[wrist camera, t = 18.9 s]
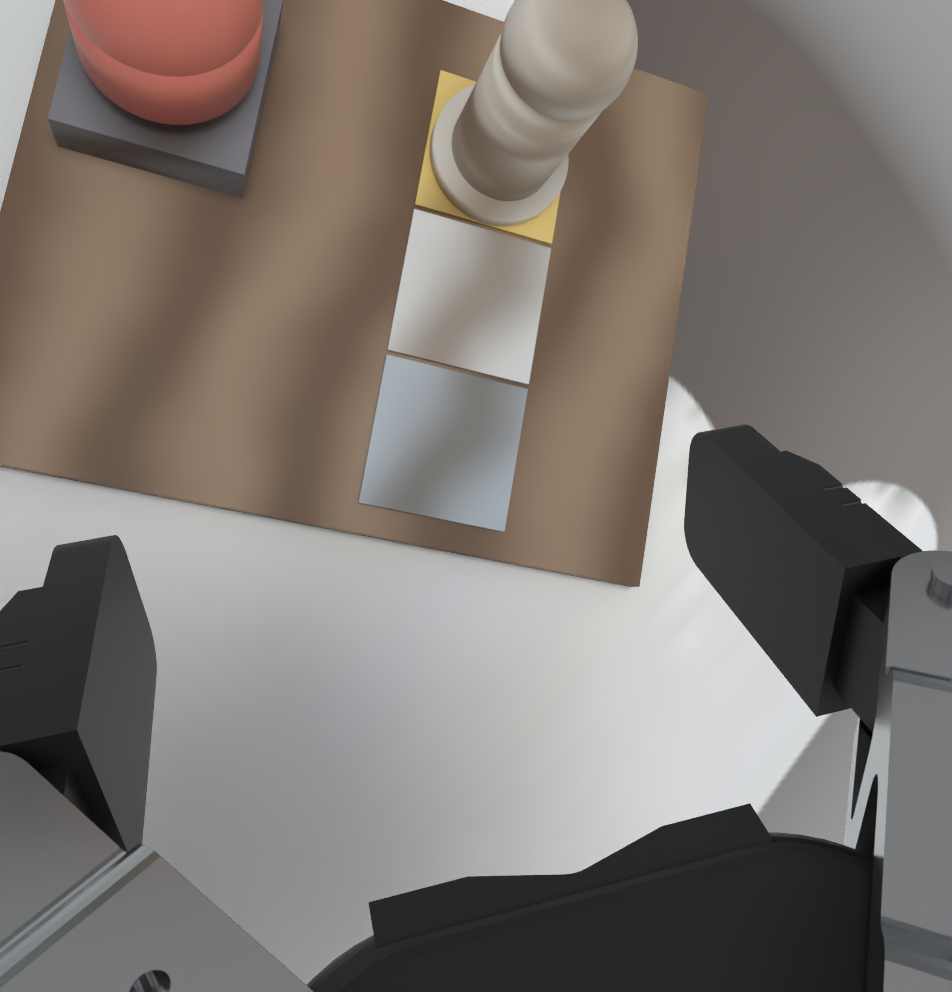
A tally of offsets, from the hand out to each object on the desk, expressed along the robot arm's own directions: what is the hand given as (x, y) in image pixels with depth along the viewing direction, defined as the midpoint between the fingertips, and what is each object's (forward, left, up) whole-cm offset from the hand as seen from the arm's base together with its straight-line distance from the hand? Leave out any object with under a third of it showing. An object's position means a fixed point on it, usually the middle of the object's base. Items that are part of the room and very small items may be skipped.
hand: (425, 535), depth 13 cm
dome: (-8, +17, -18) cm, 26 cm away
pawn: (+5, +18, -21) cm, 28 cm away
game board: (+1, +13, -22) cm, 25 cm away
